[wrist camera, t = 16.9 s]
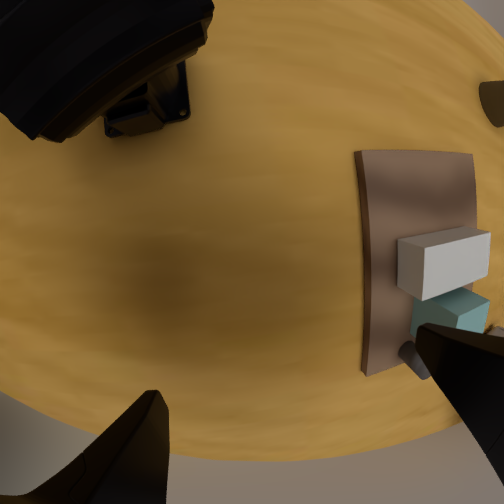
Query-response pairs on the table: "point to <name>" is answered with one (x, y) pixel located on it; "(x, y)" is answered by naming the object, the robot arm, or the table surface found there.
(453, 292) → the block
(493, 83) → the olive pepper mill
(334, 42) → the table surface
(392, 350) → the board
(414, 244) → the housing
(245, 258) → the table surface
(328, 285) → the table surface
